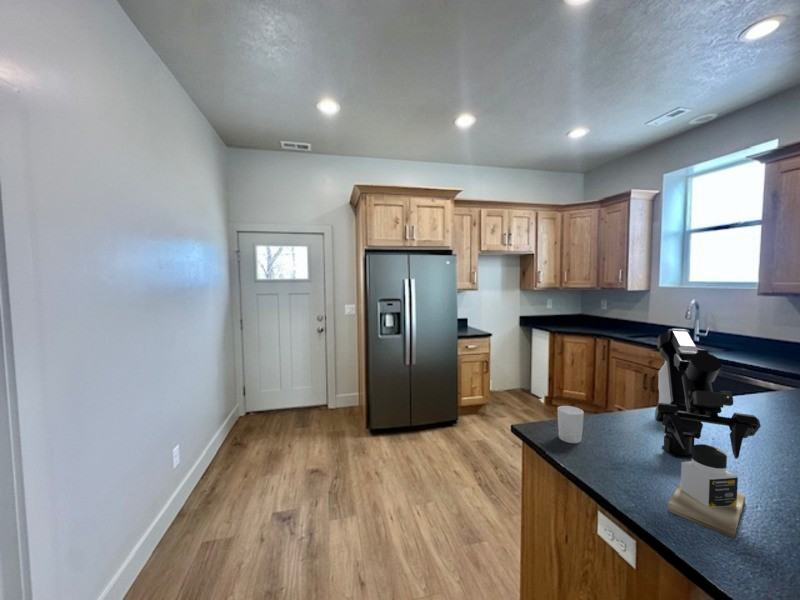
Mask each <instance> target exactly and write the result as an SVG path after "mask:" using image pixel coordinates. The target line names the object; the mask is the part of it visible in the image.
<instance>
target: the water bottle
mask: <svg viewBox="0 0 800 600" xmlns="http://www.w3.org/2000/svg"><path fill="white" fill-rule="evenodd" d="M663 359H664V358H663ZM657 375H658V385H657V389H658V403H657V404H659V403H666V404H670V403H671V398H670V388H669V378H668V368H667V361H666V360H665V359H664V363H663V365H662V366H661V368H660V369H659V370H658V373H657Z"/></svg>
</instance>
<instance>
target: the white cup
mask: <svg viewBox="0 0 800 600" xmlns="http://www.w3.org/2000/svg"><path fill="white" fill-rule="evenodd" d="M584 416H585V415H584V410H583V409H581V408H579V407H576V406H571V405H561V406H558V407H557V428H558V438H559V439H560V440H561V441H563V442H564V443H565V442H566V443H568V444H579V443H581V442H582V435H583V426H584Z"/></svg>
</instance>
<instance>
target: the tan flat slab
mask: <svg viewBox="0 0 800 600" xmlns="http://www.w3.org/2000/svg"><path fill="white" fill-rule="evenodd" d="M667 502H668V503H667V511H668V512H669V513H672V514H675V515H676V516H679V517H681V518H684V519H686V520H689V521H691V522H694V523H696V524H699V525H701V526H703V527H706V528H708V529H711V530H713V531H716V532H718V533H720V534H722V535H724V536H725V535H726V536H727V535H728V536H727V537H730V538H732V539H735V538H736V531H737V527H738V524H739V521H740V518H741V514H742V511H743V507H744V506H745V504H746V494H745V493H743V492H740V491H737V506H731V507H718V508H708V507H706V506H705V505H703V504H702V503H700V502H699V501H697V500H696V499H694V498H693V497H691V496H689V495H688V494H686V493H685V492H683V491H682V490H681V482H680V483H679V485H678V486H677V488H676V490H675V491H674V492H673V494H672V496H671V498H670V499H669V501H667Z"/></svg>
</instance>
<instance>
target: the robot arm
mask: <svg viewBox="0 0 800 600" xmlns="http://www.w3.org/2000/svg"><path fill="white" fill-rule="evenodd" d="M656 342H657V343H656V345H657V349H659V354H660V356H661V358H663V359H665V360H666V361H667V368H668V378H669V388H670V398H671V403H670V404H666V403H659V402H658V403H659V404H658V403H657V404H656V407H655V409H654V410H655V411H654V416H655V417H654V418H655V419H654V420H655V421H656V422H657V423H661V429H662V431H663V433H664V434H665V435H663V445H661V448H662V449H664V450H665V451H666V452H667V453H669V454H670V455H671V456H672V457H675V458H686V459H692V447H693V446H694V445H695V439H698V440H700V438H701V436H702V430H703V426H704V424H703V423H707V424H714V425H719V426H720V425H721V426H727V427H729V431H730V433H729V439H730V445H731V449H732V455H733V457H734V459H737V460H738V458H739V457H740V452H741V449H742V443H743V440H744V439H747V438H749V437H754V436H755V435H756V433H757V432H758V430H760V428H761V427H762V425H761V423H760V422H761V421H760V419H759V418H757V417H756V416H755V415H754V414H747V413H738V412H733V415H732V416H731V417H726V416H720V415H719V414H721V413H722V408H724V406H727V407H731V406H733V405H734V397H733V394H732V391H731V390H729V391H727V390H720V391H719V392H717V391H716V392H715V391H713V387H712V383H714V381H716V378H717V376H718V374H719V372H720V370H721V367H722V361H721V360H720V358H718V357H717V356H715V355H713V354H711V353H709V350H708V349H702V348H699V347H697V346H696V344H695V342H694V340H693V339H692V336H691V334H690V330H689V329H686V328H673V327H672V328H669V329H667V331H666V332H663V333H661V334H659V335H658V337H657V341H656ZM665 360H664V361H665Z"/></svg>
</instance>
